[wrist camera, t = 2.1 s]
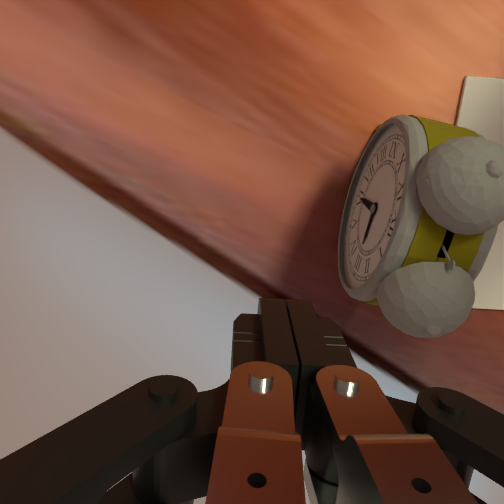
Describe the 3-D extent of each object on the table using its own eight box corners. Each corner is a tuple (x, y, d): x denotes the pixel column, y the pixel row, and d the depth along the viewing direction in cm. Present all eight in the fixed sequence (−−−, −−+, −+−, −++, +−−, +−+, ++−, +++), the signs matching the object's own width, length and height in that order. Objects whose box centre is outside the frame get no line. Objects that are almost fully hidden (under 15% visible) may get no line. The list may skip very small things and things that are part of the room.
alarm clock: (364, 108, 33) (456, 115, 19) (451, 129, 34) (603, 152, 20) (321, 255, 37) (372, 354, 23) (400, 272, 37) (499, 378, 23)
